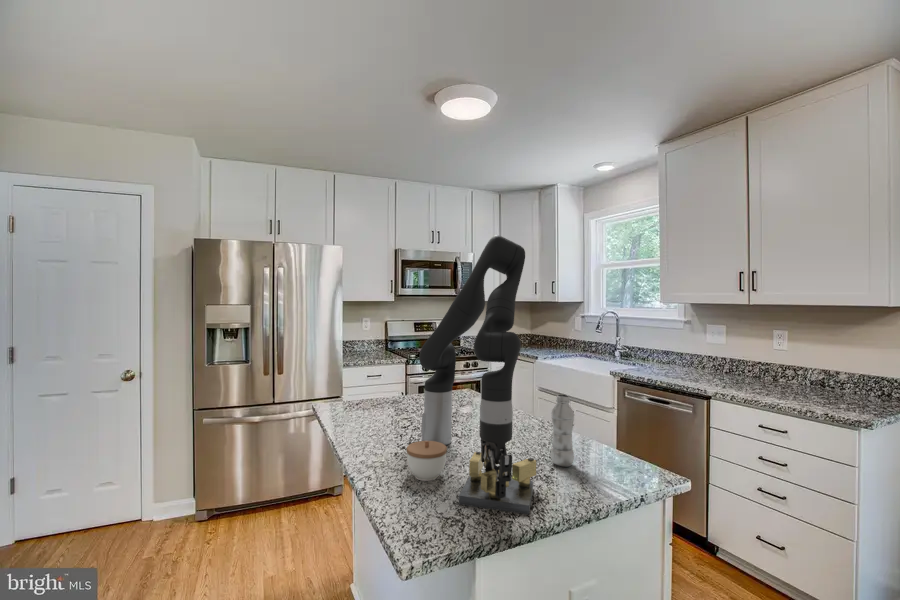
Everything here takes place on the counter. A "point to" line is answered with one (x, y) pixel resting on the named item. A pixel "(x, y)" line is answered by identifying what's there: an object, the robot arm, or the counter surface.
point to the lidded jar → (426, 459)
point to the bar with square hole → (489, 483)
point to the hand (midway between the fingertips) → (494, 490)
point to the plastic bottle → (562, 432)
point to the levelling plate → (512, 502)
